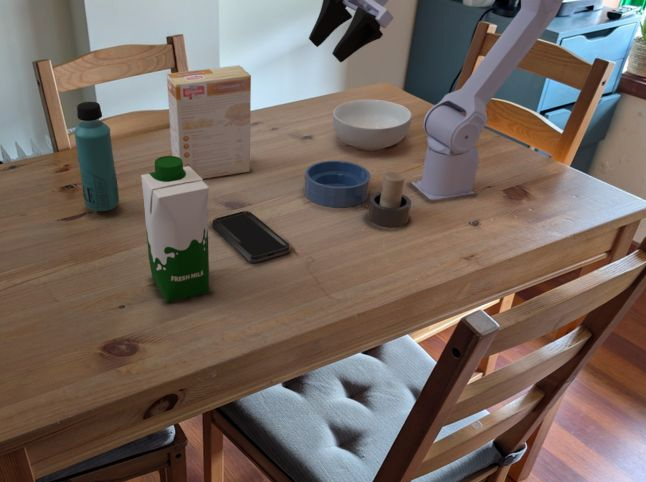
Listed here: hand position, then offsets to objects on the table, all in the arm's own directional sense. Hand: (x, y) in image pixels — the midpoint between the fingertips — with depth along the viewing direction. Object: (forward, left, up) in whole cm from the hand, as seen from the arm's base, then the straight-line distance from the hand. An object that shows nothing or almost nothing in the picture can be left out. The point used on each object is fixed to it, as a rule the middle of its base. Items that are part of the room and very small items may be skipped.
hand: (324, 50), depth 109 cm
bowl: (-7, -6, -29) cm, 30 cm away
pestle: (-12, +6, -28) cm, 31 cm away
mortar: (-12, +6, -29) cm, 32 cm away
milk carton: (+29, +16, -29) cm, 44 cm away
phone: (+14, +5, -29) cm, 32 cm away
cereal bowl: (-24, -27, -29) cm, 46 cm away
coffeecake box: (+13, -24, -29) cm, 40 cm away
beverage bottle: (+37, -13, -29) cm, 48 cm away
